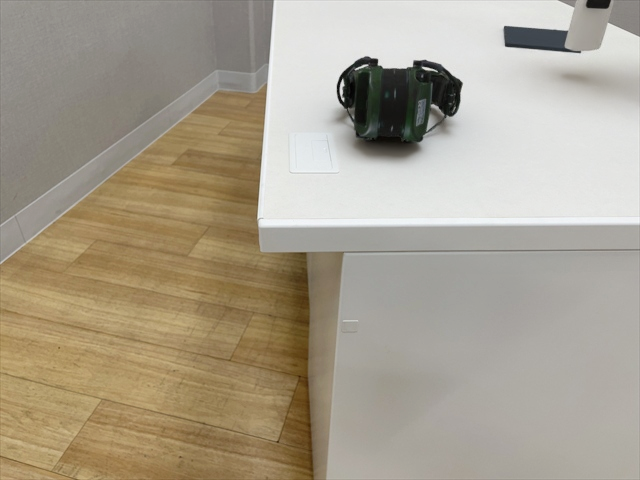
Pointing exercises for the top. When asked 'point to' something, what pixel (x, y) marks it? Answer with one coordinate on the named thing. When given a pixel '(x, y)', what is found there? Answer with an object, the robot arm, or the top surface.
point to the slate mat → (536, 38)
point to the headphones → (397, 98)
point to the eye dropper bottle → (587, 27)
